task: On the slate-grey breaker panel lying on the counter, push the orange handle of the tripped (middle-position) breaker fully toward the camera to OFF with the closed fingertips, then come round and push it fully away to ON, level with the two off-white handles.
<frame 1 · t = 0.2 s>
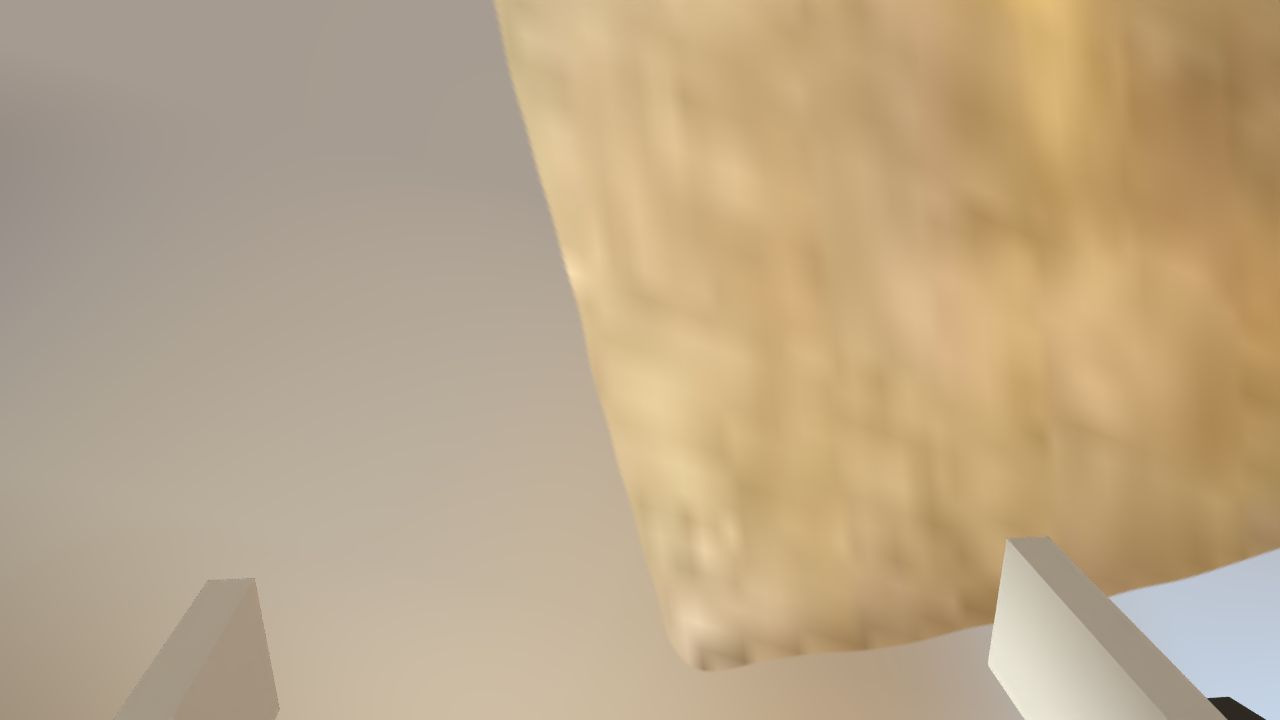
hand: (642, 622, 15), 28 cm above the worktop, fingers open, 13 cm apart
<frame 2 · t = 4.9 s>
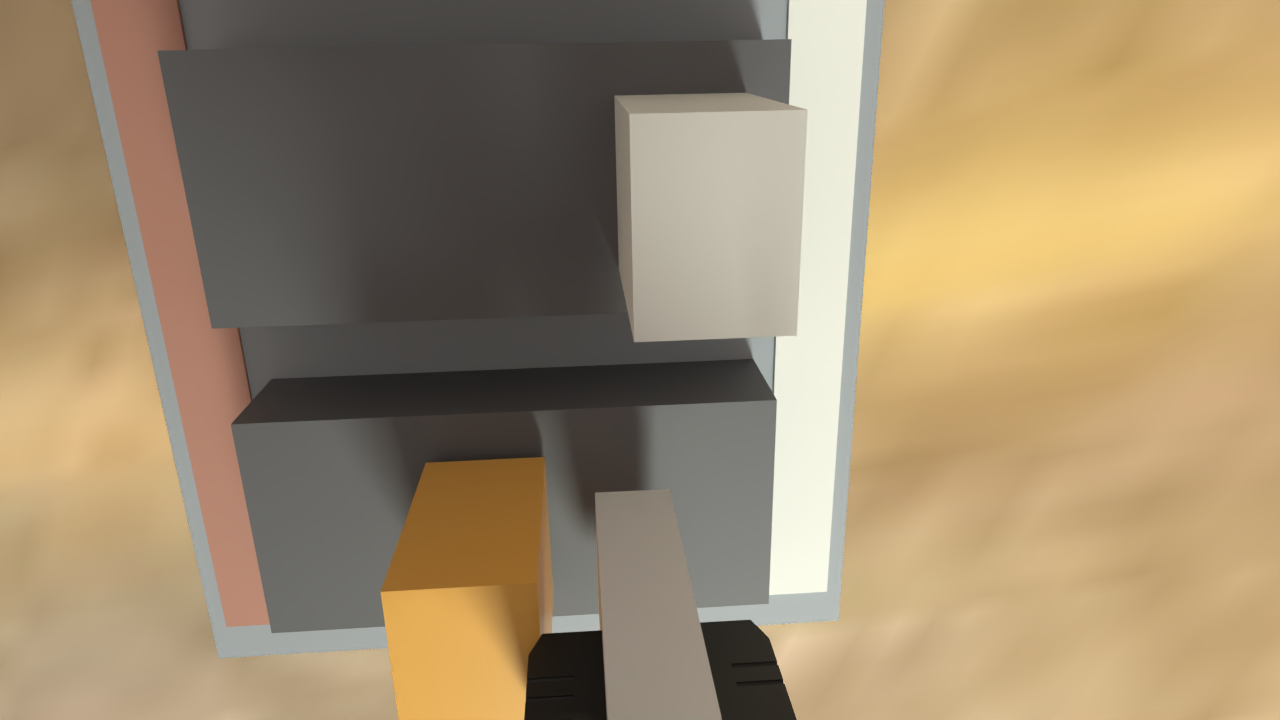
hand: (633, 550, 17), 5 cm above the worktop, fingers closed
panel: (507, 161, 20), on the worktop
tripped breaker: (481, 590, 16), point 6 cm above the worktop, slide at -0.5 cm, touching gripper
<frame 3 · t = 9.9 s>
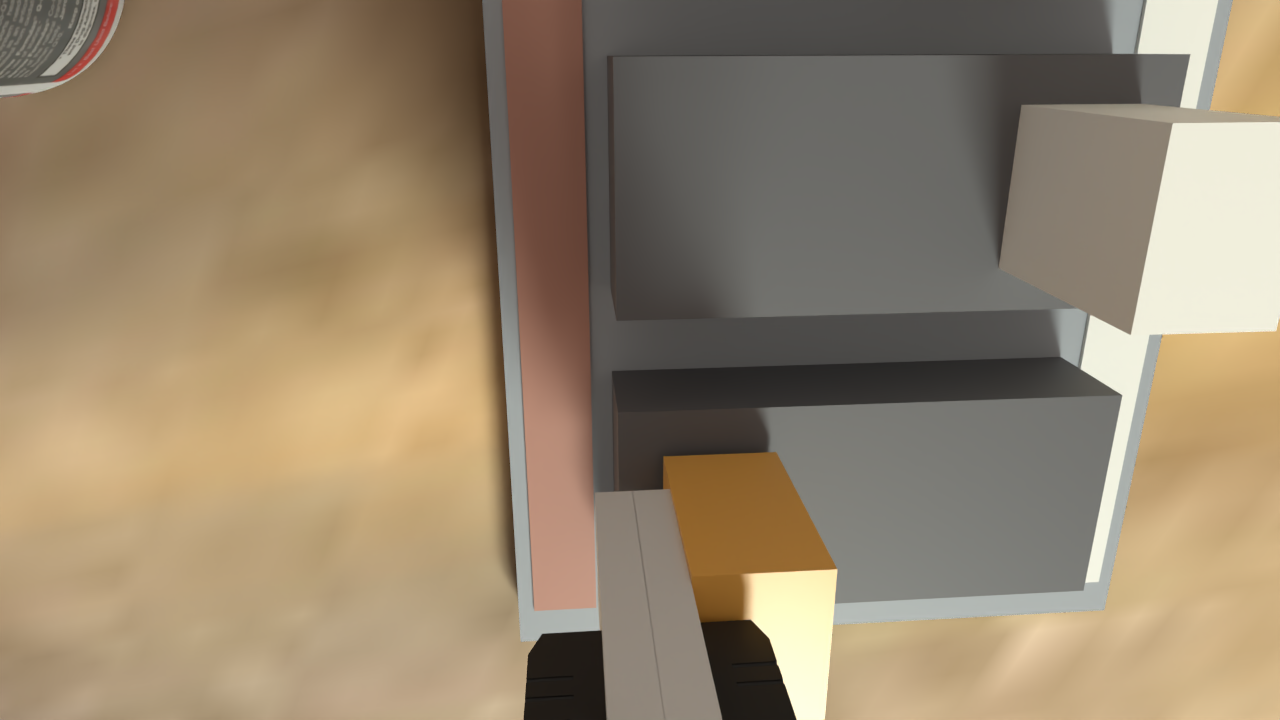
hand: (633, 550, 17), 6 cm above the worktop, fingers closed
panel: (836, 165, 21), on the worktop
tripped breaker: (736, 579, 17), point 6 cm above the worktop, slide at -3.4 cm, touching gripper
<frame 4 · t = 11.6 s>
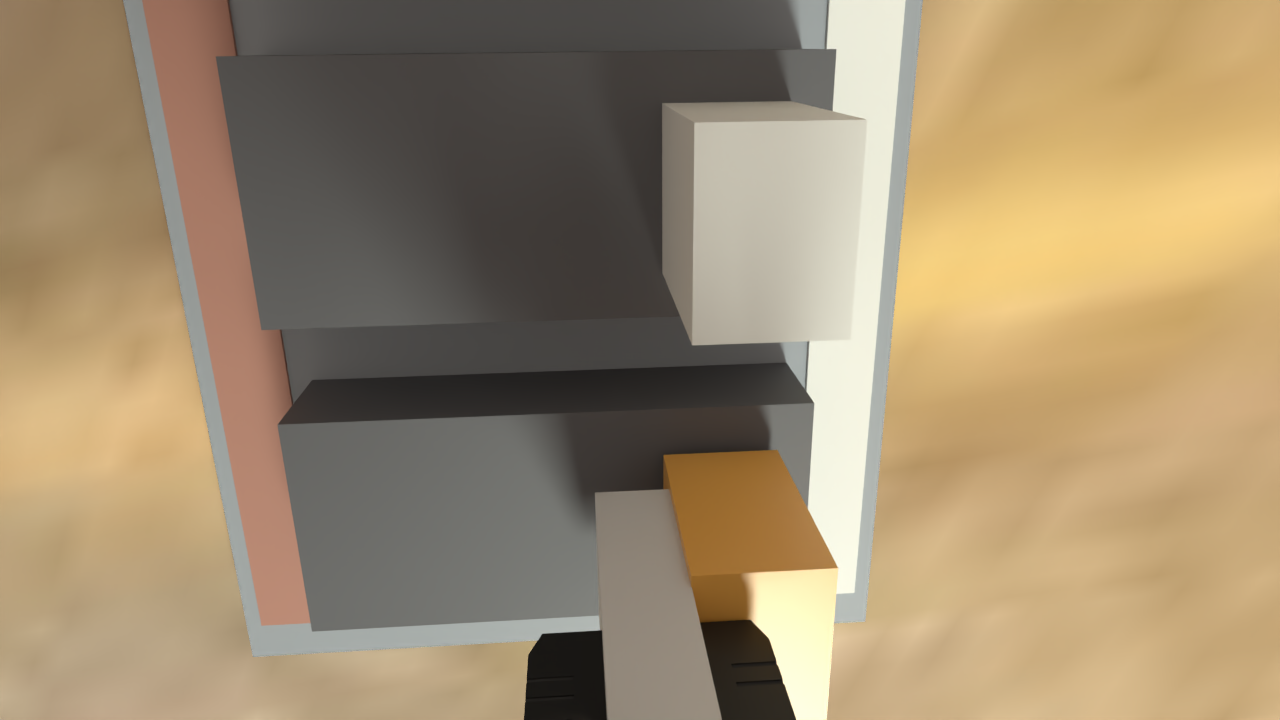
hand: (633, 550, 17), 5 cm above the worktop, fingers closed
panel: (546, 166, 20), on the worktop
tripped breaker: (737, 578, 17), point 6 cm above the worktop, slide at 3.5 cm, touching gripper
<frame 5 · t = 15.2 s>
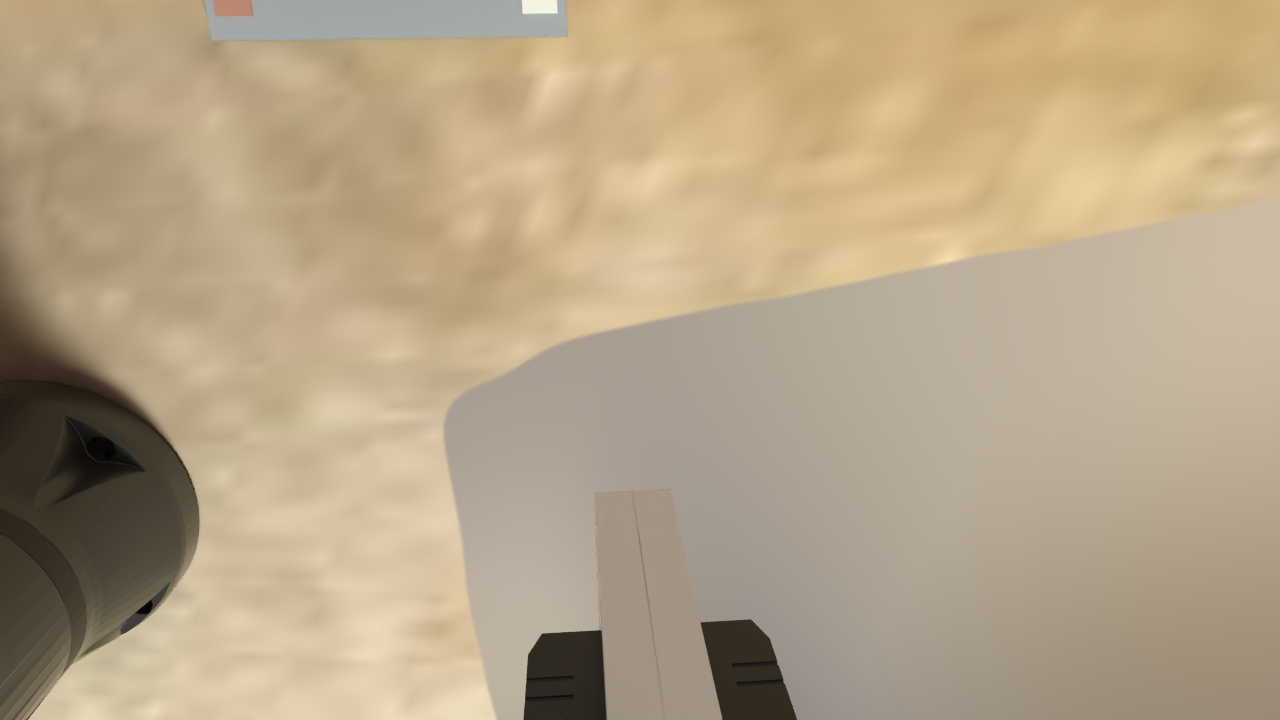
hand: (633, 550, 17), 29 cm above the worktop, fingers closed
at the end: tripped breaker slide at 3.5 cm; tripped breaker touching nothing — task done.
